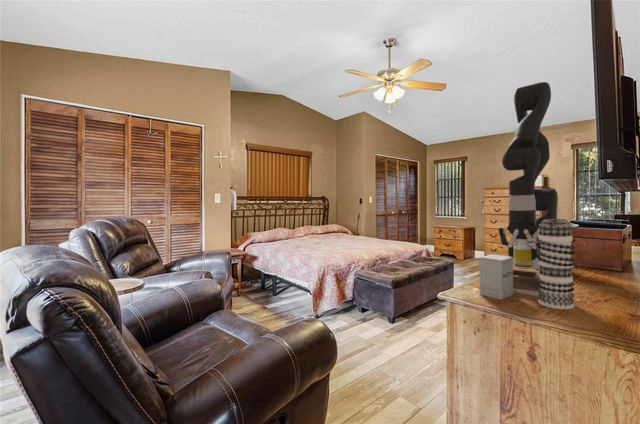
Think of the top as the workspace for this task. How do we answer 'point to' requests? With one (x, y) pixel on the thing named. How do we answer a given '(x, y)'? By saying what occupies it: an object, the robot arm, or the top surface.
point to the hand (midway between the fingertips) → (522, 258)
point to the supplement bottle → (522, 254)
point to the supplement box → (496, 276)
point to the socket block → (525, 282)
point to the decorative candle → (555, 264)
